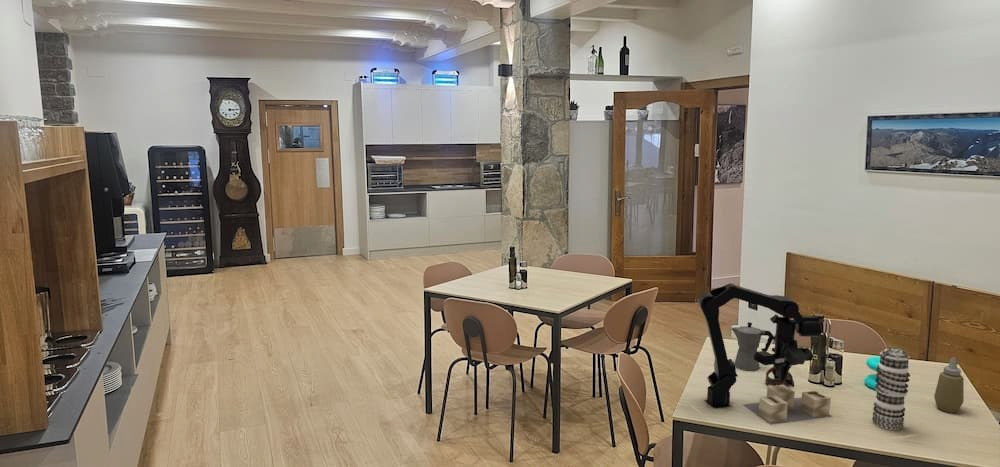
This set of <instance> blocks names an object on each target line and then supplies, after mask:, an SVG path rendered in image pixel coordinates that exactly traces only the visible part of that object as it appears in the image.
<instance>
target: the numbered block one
mask: <svg viewBox="0 0 1000 467" xmlns="http://www.w3.org/2000/svg"><path fill="white" fill-rule="evenodd" d="M758 400H759V402H758V403H759V412H758V415H759V416H761V417H762V418H764V419H765V420H766V421H768V422H769V423H774V422H782V421H786V420H787V407H788V403H787V402H785V401H783V400H782V399H780V398H779V397H777V396H768V397H767V396H761V397H759V399H758ZM758 415H757V416H758ZM759 416H758V417H759ZM762 418H761V419H762ZM765 420H764V421H765ZM766 421H765V422H766ZM769 423H768V424H769Z"/></svg>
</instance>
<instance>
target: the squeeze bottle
mask: <svg viewBox="0 0 1000 467" xmlns="http://www.w3.org/2000/svg"><path fill="white" fill-rule="evenodd" d="M961 373H962V370H961V368H959V367H958V364H957V358H956V357H952V356H951V358H950V361H949V363H948V365H946V366H944V367H943V372H940V373H939V375H938V380H937V384H936V388H935V392H934V396H933V398H934V401H935V404H936V408H937V409H938V410H940V411H942V412H945V413H946V412H947V413H952V414H953V413H958V412H959V410H960V409H961V407H962V406H963V403H964V396H965V395H964V394H965V393H964V392H965V391H964V387H965V386H964V376H962V375H961Z"/></svg>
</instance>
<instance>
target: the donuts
mask: <svg viewBox="0 0 1000 467" xmlns="http://www.w3.org/2000/svg"><path fill="white" fill-rule="evenodd" d="M880 357H881V356H870V357H868V358H867V359H866V360H865V364H866V366H867V367H868V368H869V369H870V370H872V371H874V372H877V371H876V367H877V366H878V365H879V362H880ZM879 371H880V369H879ZM876 374H877V373H874V374H873V373H871V374H868V375H867V376H865V377H864V379H863V380H864V384H865V385H866V386H867V387H869V389H870V388H871V389H872V390H876V386H875V385H876V384H877V382H876ZM878 381H879V380H878ZM876 391H877V390H876Z"/></svg>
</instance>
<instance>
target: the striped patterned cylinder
mask: <svg viewBox="0 0 1000 467" xmlns="http://www.w3.org/2000/svg"><path fill="white" fill-rule="evenodd" d="M879 355H880V356H879V357H880V362H879V365H878V366H877V367H876V371H875V372H876V373H875V374H876V382H877V384H876V385H875V386H876V396H875V401H874V402H873V411H872V418H871V420H872V422H873V423H874V425H875V426H877V427H879V428H882V429H884V430H889V431H897V430H900V429H903V428H902V427H904V424H905V423H904V422H905V418H904V417H905V414H906V413H905V412H906V408H905V397H906V396H907V393H908V392H909V391H908V389H907V388H909V385H908V383H909V382H910V381H911V380H910V378H909V377H910V376H911V374H910V373H909V368H910V366H909V360H911V357H910V356H909V355H908V353H907V352H906V351H904V350H903V349H899V348H896V347H895V348H894V347H888V348H885V349H884V350H882V351H880V352H879ZM879 369H880V371H879ZM878 380H879V381H878Z"/></svg>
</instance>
